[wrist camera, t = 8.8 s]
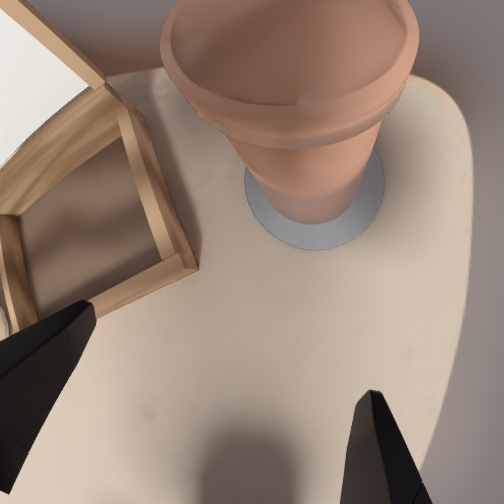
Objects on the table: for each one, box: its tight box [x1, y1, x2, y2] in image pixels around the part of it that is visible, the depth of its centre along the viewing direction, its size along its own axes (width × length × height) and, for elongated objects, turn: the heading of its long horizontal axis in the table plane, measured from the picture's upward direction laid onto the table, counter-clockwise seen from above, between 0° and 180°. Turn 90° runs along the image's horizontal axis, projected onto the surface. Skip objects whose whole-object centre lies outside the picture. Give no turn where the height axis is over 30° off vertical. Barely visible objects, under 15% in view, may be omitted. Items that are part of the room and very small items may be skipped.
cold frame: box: [0, 82, 199, 333], centre depth 21 cm, size 14×18×6 cm
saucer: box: [245, 147, 384, 250], centre depth 20 cm, size 9×9×1 cm
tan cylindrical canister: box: [160, 0, 419, 225], centre depth 13 cm, size 7×7×14 cm
